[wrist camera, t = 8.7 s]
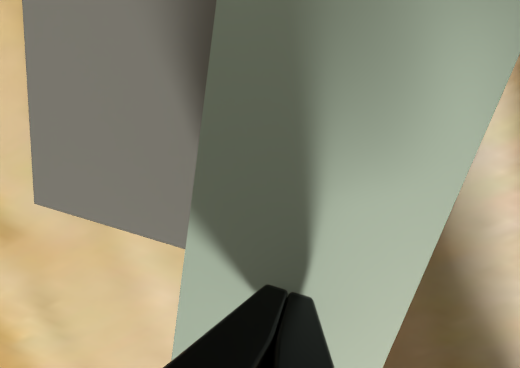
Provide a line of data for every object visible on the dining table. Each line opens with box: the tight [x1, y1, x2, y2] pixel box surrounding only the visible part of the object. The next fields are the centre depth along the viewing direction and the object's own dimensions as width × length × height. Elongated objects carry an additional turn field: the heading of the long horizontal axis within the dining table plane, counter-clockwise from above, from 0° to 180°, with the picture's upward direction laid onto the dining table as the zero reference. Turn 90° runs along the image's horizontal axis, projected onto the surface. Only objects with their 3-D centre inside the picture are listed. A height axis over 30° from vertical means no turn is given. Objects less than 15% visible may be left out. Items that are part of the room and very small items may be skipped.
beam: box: [171, 0, 520, 368], centre depth 10 cm, size 14×4×4 cm, turn 170°
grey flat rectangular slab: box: [22, 0, 217, 249], centre depth 17 cm, size 16×14×1 cm
